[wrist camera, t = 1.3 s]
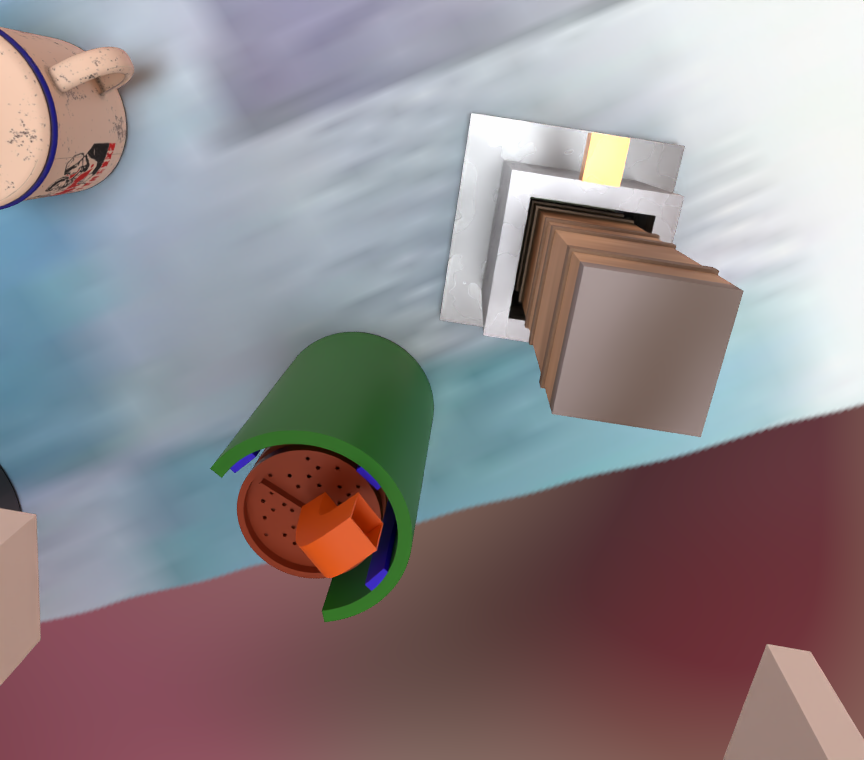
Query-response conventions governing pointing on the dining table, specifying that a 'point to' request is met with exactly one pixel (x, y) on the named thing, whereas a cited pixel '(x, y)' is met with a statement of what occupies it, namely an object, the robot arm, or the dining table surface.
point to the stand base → (549, 179)
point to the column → (621, 319)
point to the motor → (337, 468)
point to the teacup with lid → (58, 115)
